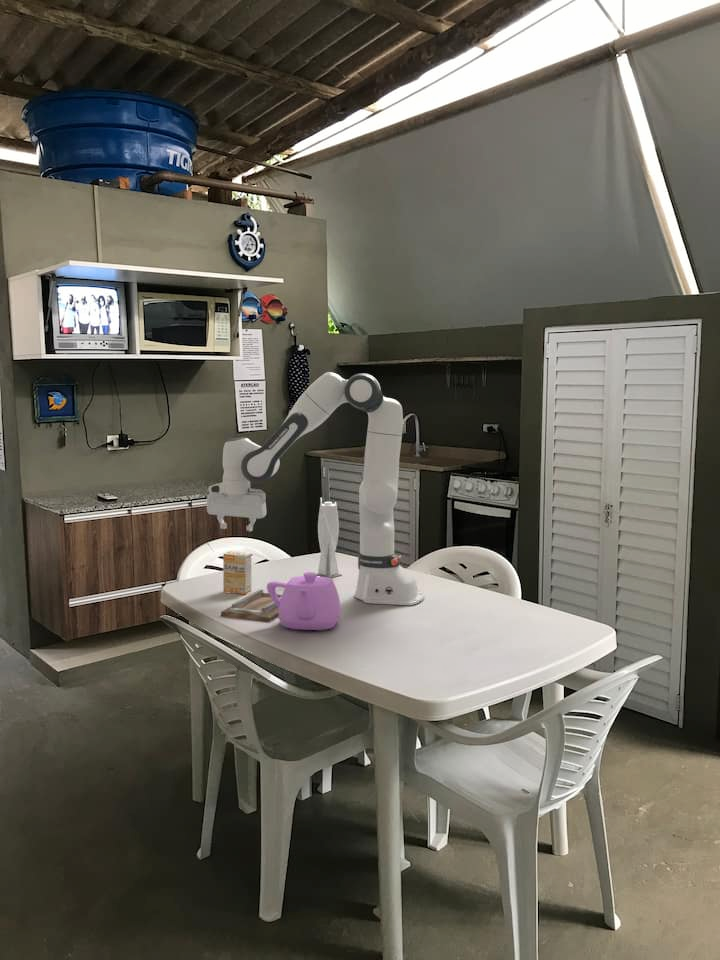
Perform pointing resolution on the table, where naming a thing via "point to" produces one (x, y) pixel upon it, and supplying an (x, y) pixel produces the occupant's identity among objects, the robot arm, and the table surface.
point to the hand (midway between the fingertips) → (236, 529)
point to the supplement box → (237, 572)
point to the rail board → (254, 607)
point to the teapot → (307, 602)
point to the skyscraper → (328, 539)
